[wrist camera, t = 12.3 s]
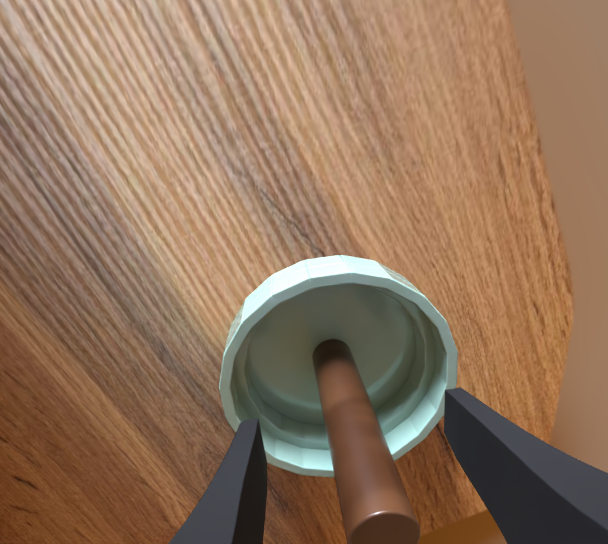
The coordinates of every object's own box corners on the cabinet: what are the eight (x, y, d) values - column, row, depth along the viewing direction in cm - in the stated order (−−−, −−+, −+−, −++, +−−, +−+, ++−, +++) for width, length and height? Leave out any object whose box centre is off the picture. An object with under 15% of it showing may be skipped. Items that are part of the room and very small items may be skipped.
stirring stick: (349, 335, 17) (421, 507, 9) (352, 369, 18) (421, 558, 10) (310, 341, 17) (344, 519, 9) (314, 375, 18) (350, 571, 10)
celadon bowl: (429, 239, 17) (461, 256, 14) (429, 415, 20) (454, 458, 17) (209, 269, 16) (195, 293, 13) (247, 444, 20) (243, 492, 17)
